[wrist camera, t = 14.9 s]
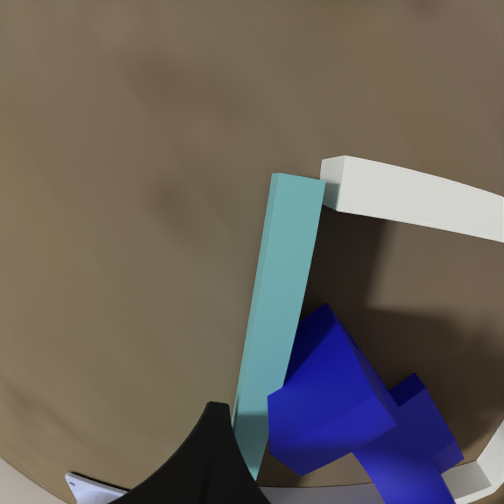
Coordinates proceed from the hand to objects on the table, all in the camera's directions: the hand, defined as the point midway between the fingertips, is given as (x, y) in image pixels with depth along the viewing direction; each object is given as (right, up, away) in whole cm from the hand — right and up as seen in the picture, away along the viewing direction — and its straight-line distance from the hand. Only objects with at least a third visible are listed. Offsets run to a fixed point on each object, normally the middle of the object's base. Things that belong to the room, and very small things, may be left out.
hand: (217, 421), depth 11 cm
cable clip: (+7, -1, +3) cm, 8 cm away
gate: (+1, +1, +2) cm, 2 cm away
